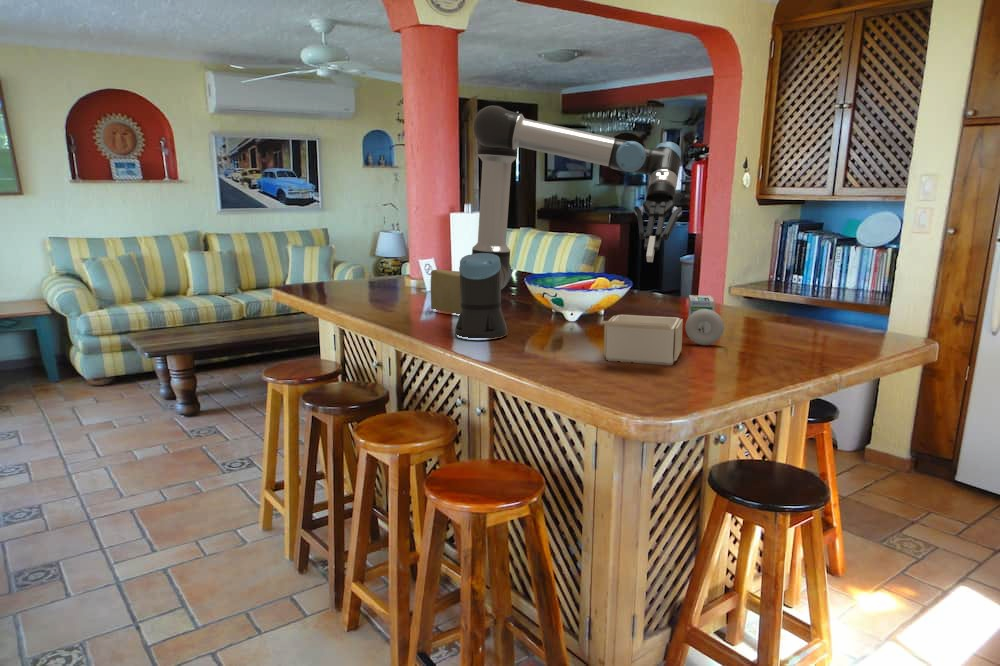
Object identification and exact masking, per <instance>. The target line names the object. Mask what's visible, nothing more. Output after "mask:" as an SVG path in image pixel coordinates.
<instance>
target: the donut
mask: <svg viewBox="0 0 1000 666" xmlns="http://www.w3.org/2000/svg"><path fill="white" fill-rule="evenodd" d="M688 316H689V315H688ZM703 321H706V322H708V323H710V325H711V330H710V331H709V332H708V333H702V332H700V331H699V329H698V325H699V323H701V322H703ZM724 323H725V322H724V320H723V319H722V316H720V314H718V312H716V311H715V312H714V311H712V310H709V309H700V310H697V311H695V312H693V313H692V314H691V315H690V316H689V317H687V319H686V321H685V333H686V335H687V337H688V338H689V339H690V340H691V341H692V343H695V344H696V345H699V346H711V345H713V344H715V343H717V342H718V341H719V340H720V339H721V337H722V336H723V335H724V330H725V324H724Z"/></svg>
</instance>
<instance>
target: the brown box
mask: <svg viewBox="0 0 1000 666" xmlns="http://www.w3.org/2000/svg"><path fill="white" fill-rule="evenodd" d="M431 309H436V310H440V311H445V312H451V313H456V314H460V312H461V295H460V272H459V270H458V271H456V270H445V269H432V270H431V272H430V310H431Z"/></svg>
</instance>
